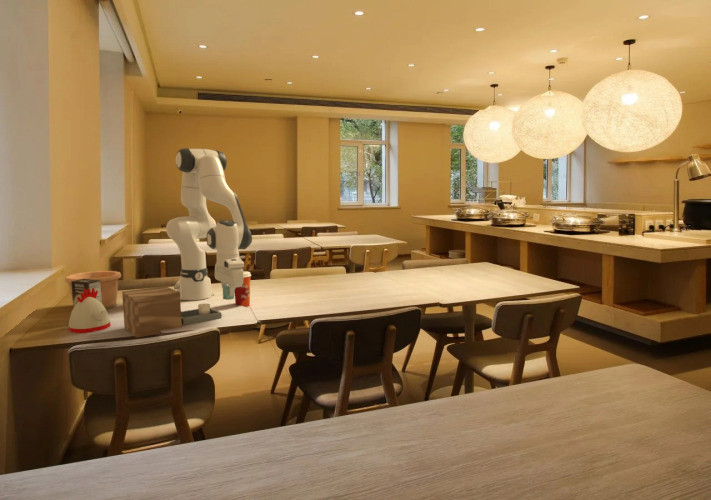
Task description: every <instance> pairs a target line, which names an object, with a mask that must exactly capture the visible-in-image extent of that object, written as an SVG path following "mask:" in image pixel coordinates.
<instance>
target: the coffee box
mask: <svg viewBox="0 0 711 500" xmlns="http://www.w3.org/2000/svg"><path fill="white" fill-rule="evenodd" d="M71 283H72V296H71V298H72V297H73V300H72V307H73V308H74V307H75V305H76V304H77V303H78V302H79V300H78V298H77V297H79V298H80V299H82V298H81V294H80V293H83V295H84V289H86V290H87V293H88V289H90V291H91V292H92V288H94V289H95V292H96V290H97V291H98V294H97V297H96V299H97V300H98V301H100V302H101V303H102V297H101V282H100V280H94V279H80V280H75V281H71Z"/></svg>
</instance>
